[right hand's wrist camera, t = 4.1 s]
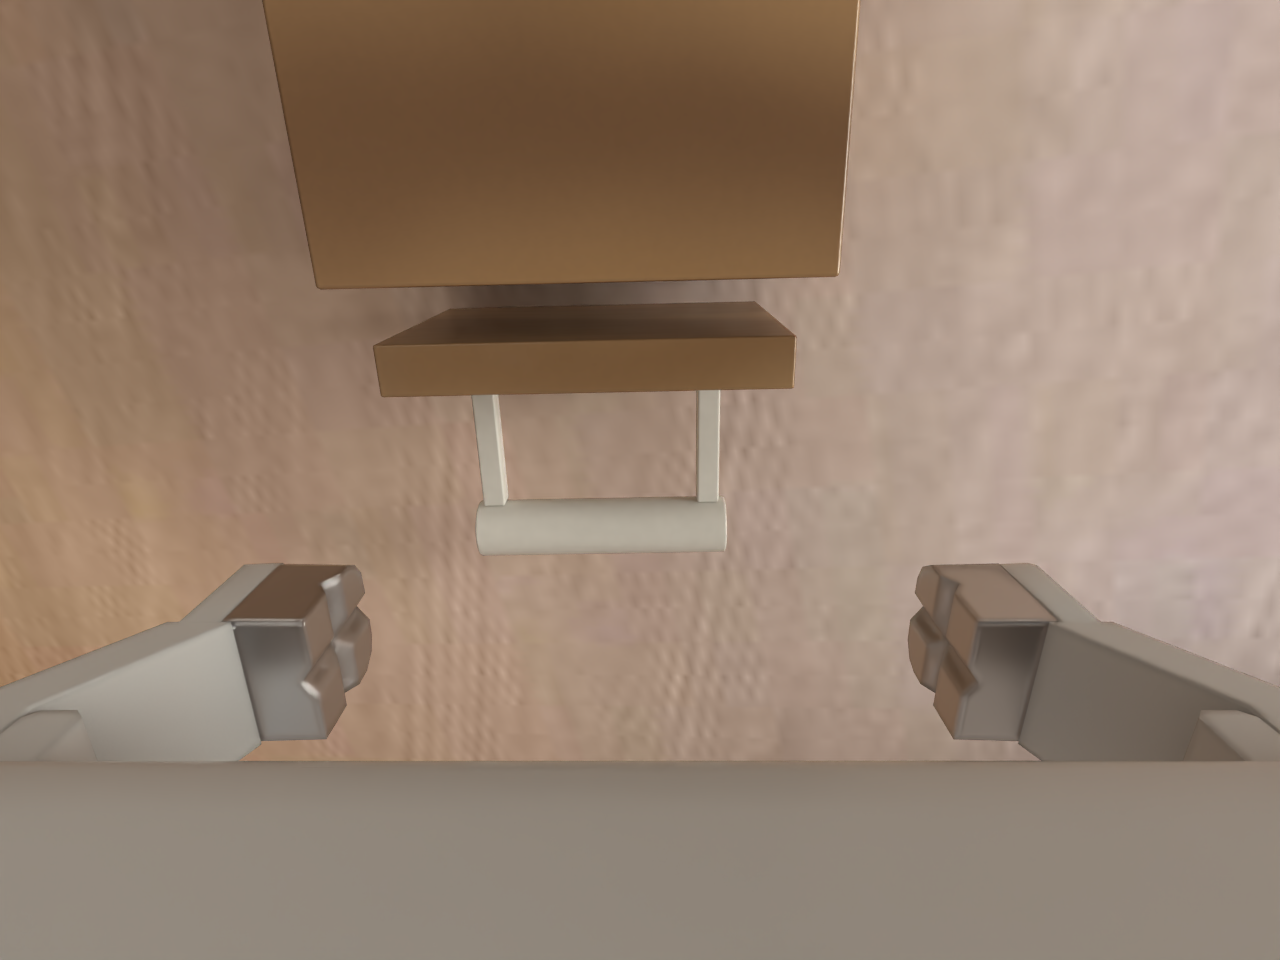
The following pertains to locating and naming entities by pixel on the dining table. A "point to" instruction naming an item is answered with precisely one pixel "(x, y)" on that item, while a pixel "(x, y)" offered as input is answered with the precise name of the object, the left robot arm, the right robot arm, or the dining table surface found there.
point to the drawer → (592, 363)
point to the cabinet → (567, 138)
